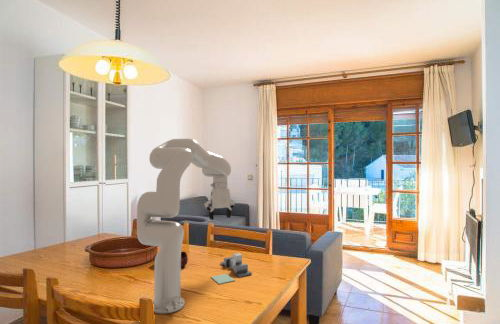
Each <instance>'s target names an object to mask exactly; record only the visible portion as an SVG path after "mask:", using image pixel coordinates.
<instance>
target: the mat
mask: <svg viewBox="0 0 500 324" xmlns="http://www.w3.org/2000/svg"><path fill="white" fill-rule="evenodd" d="M210 278H211V279H212V280H213V281H215V282H216V283H217V284H218V285H222V284H228V283H232V281H233V282H236V280H235V279H234V278H233V277H231V276H230V275H229V274H227V273H225V274H218V275H213V276H210Z"/></svg>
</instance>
